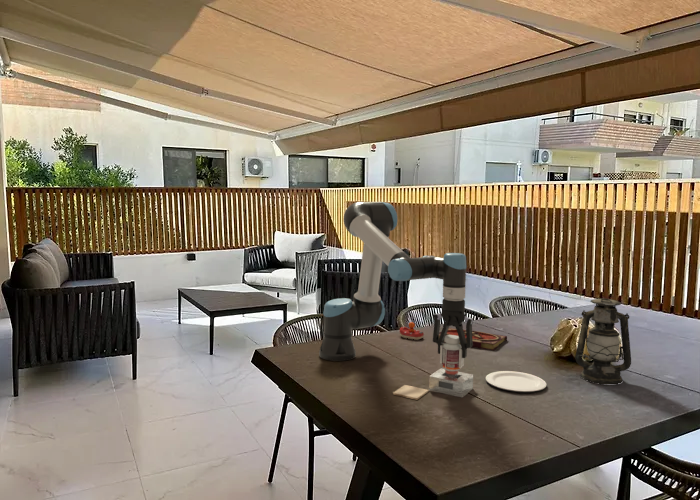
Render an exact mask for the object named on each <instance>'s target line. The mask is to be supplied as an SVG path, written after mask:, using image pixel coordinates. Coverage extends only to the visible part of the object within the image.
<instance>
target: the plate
mask: <svg viewBox="0 0 700 500" xmlns="http://www.w3.org/2000/svg"><path fill="white" fill-rule="evenodd" d="M485 381H486V382H487V383H488V384H489V385H490V386H493V387H495V388H497V389H500V390H504V391H509V392H517V393H535V392H539V391H543V390H544V389H546V388H547V385H548V384H547V382H546V381H545V380H544V379H542V378H541V377H539V376H536V375H534V374H531V373H526V372H522V371H521V372H520V371H511V370H500V371H493V372H490V373H489V374H487V375H486V376H485Z"/></svg>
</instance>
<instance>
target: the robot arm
mask: <svg viewBox="0 0 700 500" xmlns="http://www.w3.org/2000/svg"><path fill="white" fill-rule="evenodd" d="M343 224H344V227H345V228H346V230H347V231H348V233H349V234H350V235H352V237H356V238H358V239H359V240H360V241H361V242H362V243H363V247H362V255H361V265H360V272H359V280H358V289H357V291H356V292H355V293H354V294H353V301H352V299H351V298H345V297H342V298H339V297H338V298H333V299H331V300H328V301H326V302H325V304H324V305H323V338H322V342H321V345H320V347H319V351H318V352H319V355H318V356H319V357H320V358H321V359H322V360H327V361H332V362H333V361H334V362H342V361H344V362H345V361H349V360H352V359H355V357H356V348H355V345H354V342H353V337H352V336H353V335H352V333H353V332H352V331H353V330H358V329H363V328H365V329H366V328H372V327H375V326H379V325H380V324H381V323H382V321H383V320H384V318H385V315H386V308H385V303H384V302H383V301H382V298H381V295H379V290H380V281H381V273H382V265H383V263H384V264H385V265H386V266H387V272H388V274H389V277H390V280H391V279H392V280H393V281H394V282H407V281H414V280H415V281H416V280H426V279H427V280H428V279H439V280H442V297H443V298H442V302H441V304H442V306H441V308H442V310H441V312H440V313H435V314H433V320H434V321H433V322H434V323H433V334H432V342H433V343H436V345H437V354H439V365H443V345H444V344H445V342H444V339H445V336H446V334H447V331H448V328H450V327H453V328H455V329H456V330H457V332H458V336H459V340H460V344H461V348H460V349H459V368H461V369H462V368H463V367H464V365H465V359H466V358H467V355H468V349H470V348H473V347H472V346H473V340H472V331H473V322H474V318H473V317H468V316H466V312H465V311H466V300H465V299H466V280H467V279H466V278H467V256H466V254H464V253H461V252H460V253H459V252H446V253H445V254H444V255H443V257H440V256H434V255H423V256H422V257H410V256H409V255H408V254H407V253H406V252H405V251H403V249H401V248H400V247H399V246H398V245H397V244H396V243H394V241H392V240H391V239H390V236H391V235H390V233H391V232H392V231H393V230H395V229H396V227H397V226H398V213H397V211H396V209H395V207H394V205H392V204H391V203H389V202H384V201H357V202H354V203H351V204H350V205H349V206H348V207H347V208H346V210H345V211H344V213H343ZM441 320H443V321H444V323H443V325H442V328H441ZM463 322H465V324H466V325H465V330H466V339H467V342H466V339H465V335H464V331H463V330H464V329H463V328H464V326H463ZM441 329H442V330H441ZM441 331H442V332H441ZM439 332H441V334H440V337H439Z"/></svg>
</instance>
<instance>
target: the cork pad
mask: <svg viewBox="0 0 700 500" xmlns="http://www.w3.org/2000/svg"><path fill="white" fill-rule="evenodd" d="M429 391H430V390H429V389H427V388H422V387H416V386H413V385H412V386H411V385H407V384H403V385H402V386H401V387H399V388H397V389H396V390H395V391H392V395H395V396H398V397H401V398H407V399H412V400H416V401H417V400H419V399H421V398H422V397H424V396H425V395H426V394H427V393H429Z"/></svg>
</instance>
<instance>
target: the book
mask: <svg viewBox="0 0 700 500" xmlns="http://www.w3.org/2000/svg"><path fill="white" fill-rule="evenodd" d="M463 331H464V335H465V339H466V329H463ZM441 332H442V330H440V331H439V337H440V334H441ZM446 335H456V336H458V332H457V330H456V327H453V328H452V327H449V328H448V331H447V334H446ZM472 340H473V346H472V347H471V348H474V349H482V350H487V351H488V350H489V351H495V350H497V348H498V346H500V345H501V344H502V343H503V342H506V341H508V337H507V335H501V334H494V333H490V332H489V333H487V332H482V331H478V330H472ZM466 342H467V339H466ZM445 343H446V342H445V339H444V344H445ZM459 344H460V343H459ZM499 344H500V345H499ZM460 345H461V344H460Z"/></svg>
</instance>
